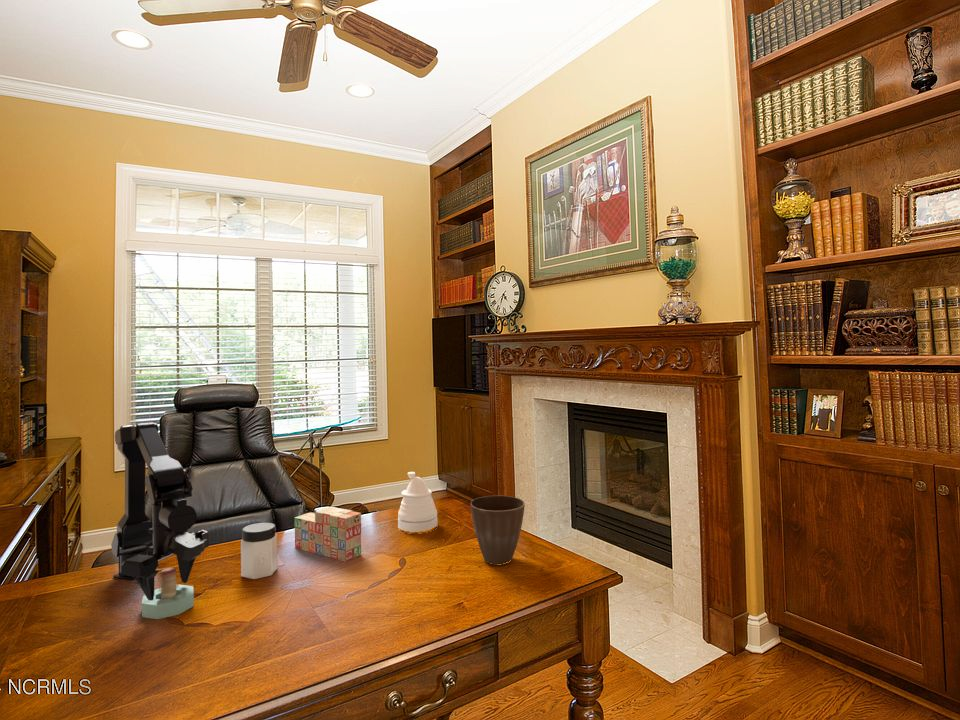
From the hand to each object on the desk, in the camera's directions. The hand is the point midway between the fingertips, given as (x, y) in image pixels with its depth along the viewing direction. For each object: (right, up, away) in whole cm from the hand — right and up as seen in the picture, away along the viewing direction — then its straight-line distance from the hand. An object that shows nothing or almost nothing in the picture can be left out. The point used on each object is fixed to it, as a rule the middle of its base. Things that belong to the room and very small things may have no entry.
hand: (168, 590), depth 121 cm
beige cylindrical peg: (0, -4, 0) cm, 4 cm away
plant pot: (+76, -3, +25) cm, 80 cm away
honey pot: (+50, -3, +55) cm, 75 cm away
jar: (+13, -4, +19) cm, 23 cm away
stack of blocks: (+26, -4, +34) cm, 43 cm away
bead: (0, -4, 0) cm, 4 cm away
